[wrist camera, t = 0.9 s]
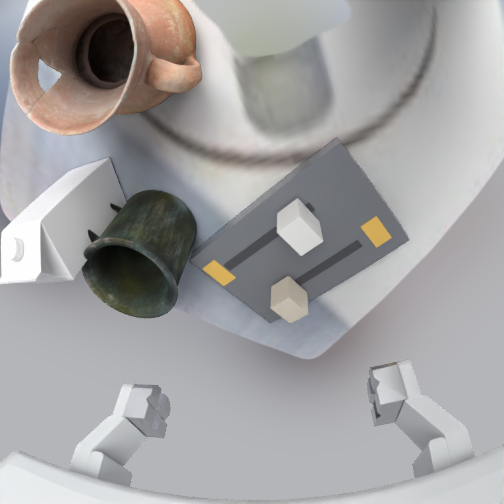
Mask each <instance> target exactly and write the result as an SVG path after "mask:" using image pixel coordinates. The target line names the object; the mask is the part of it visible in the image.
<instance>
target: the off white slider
mask: <svg viewBox="0 0 504 504" xmlns="http://www.w3.org/2000/svg"><path fill="white" fill-rule="evenodd" d="M277 233H278V234H279V235H280V236H281V237H282V238H283V239H284V240H285V241H286V242H287V243H288V244H289V245H290V246H291V247H292V248H293V249H294V250H295V251H296V252H297V253H298V254H299V255H300V256H302V255H304V254H305V253H307V252H308V251H310V250H311V249H313V248H314V247H316V246H317V245H319V244H320V243H322V242H323V237H322V232H321V226H320V222H319V220H318V219H317V218H316V217H315V216H314V215H313V214H312V213H311V212H310V211H309V210H308V208H307V207H306V206H305V205H304V204H303V203H302V202H301V201H300V200H299V199H298V198H297V199H296V200H294V201H293V202H292V203H290V204H289V205H288V206H286V207H285V208H284V209H282V210H281V211H280V212H278V213H277Z"/></svg>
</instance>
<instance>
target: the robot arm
mask: <svg viewBox="0 0 504 504" xmlns="http://www.w3.org/2000/svg"><path fill="white" fill-rule="evenodd" d="M369 375H370V378H369V379H368V384H367V385H368V397H369V402H370V403H372V404H373V407H372V411H371V412H372V417H373V422H374V426H378V425H383V424H389V423H393V422H396V424H397V425H398V426H399V428H400V429H401V430H402V431H403V432H404V433H405V434H406V435H407V436H408V437H409V438H410V439H411V440H412V441H413V442H414V443H415V444H416V445H417V446H418V447H419V448H420V449H421V450H422V453H421V454H420V455H419V457H418V458H417V459H416V460H415V462H414V463H413V470H414V476H415V478H414V479H410V480H407V481H403V482H399V483H395V484H391V485H387V486H383V487H378V488H373V489H368V490H363V491H357V492H351V493H345V494H338V495H331V496H323V497H314V498H302V499H287V500H223V499H208V498H196V497H188V496H180V495H172V494H165V493H159V492H153V491H148V490H143V489H138V488H133V487H130V483H131V478H132V474H131V472H130V471H128V470H127V469H125V468H124V467H123V466H124V465H125V464H126V462H127V461H128V460H129V459H130V457H131V456H132V455H133V454H134V453H135V451H136V450H137V449H138V448H139V447H140V445H141V444H142V443H143V441H145V439H146V437H157V438H164V436H165V431H166V427H167V424H166V422H165V419H166V418H167V417H168V416H169V413H170V402H169V399H168V397H167V396H166V395H165V394H163V393H161V388H160V387H159V386H158V385H138V384H124V385H123V387H122V389H121V391H120V394H119V397H118V400H117V403H116V406H115V409H114V412H113V415H110V416H109V417H108V418H106V419H105V420H104V421H103V422H102V423H101V424H100V425H99V426H98V427H96V428H95V429H94V430H93V431H92V432H91V433H90V434H89V435H88V436H87V437H86V438H85V439H84V440H82V441H81V442H80V443H79V444H78V445H77V446H76V449H75V452H74V455H73V458H72V462H71V465H70V468H69V470H67V469H65V468H62V467H59V466H56V465H54V464H51V463H48V462H46V461H43V460H41V459H38V458H36V457H33V456H31V455H29V454H26V453H24V452H22V451H14V452H12V453H10V454H9V455H8V456H6V457H5V458H4V459H3V460H1V461H0V504H504V444H503V445H501V446H499V447H497V448H495V449H492V450H490V451H488V452H486V453H483V454H481V455H479V456H477V457H475V455H474V451H473V448H472V444H471V441H470V437H469V434H468V431H467V428H466V427H465V426H464V425H463V424H461V423H460V422H459V421H458V420H456V419H455V418H454V417H453V416H451V415H450V414H449V413H447V412H446V411H445V410H444V409H443V408H441V407H440V406H439V405H438V404H436V403H435V402H434V401H433V400H431V399H430V398H429V397H428V396H426V395H422V394H421V391H420V388H419V385H418V382H417V379H416V376H415V373H414V370H413V367H412V364H411V362H410V360H404V361H399V362H394V363H390V364H385V365H380V366H375V367H371V368H370V370H369Z"/></svg>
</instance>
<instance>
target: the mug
mask: <svg viewBox="0 0 504 504" xmlns="http://www.w3.org/2000/svg"><path fill="white" fill-rule="evenodd" d="M110 206H111V208H112V209H113V210H115V211H117V213H118V214H117V215H116V216H115V218H114V219H113V220H112V221H111V223H110V224H109V225H108V227H107V228H106V229H105V231H104V232H103V233H102V234H101V236H100V237H99V236H98V235H96V234H95V233H94V232H92V231H91V230H90V229H89V230H88V236H89V238H90V240H91V244H90V245H89V246H88V247H87V248H86V249H85V251H84V253H83V254H84V257H85V258H86V259H87V261H86V262H85V264H84V265H83V267H82V272H83V275H84V278H85V280H86V282H87V284H88V285H89V287H90V288H91V290H92V291H93V292H94V293H95V294H96V295H97V296H98V297H99V298H100V299H101V300H102V301H103V302H104V303H106V304H107V305H109V306H110V307H112V308H114V309H115V310H117V311H119V312H122V313H124V314H127V315H130V316H134V317H139V318H155V317H159V316H162V315H164V314H166V313H168V312H169V311H170V310H171V309H172V308H173V307H174V305H175V303H176V301H177V296H178V291H177V286H178V283H179V280H180V277H181V275H182V272H183V269H184V267H185V264H186V261H187V259H188V256H189V253H190V251H191V248H192V245H193V243H194V240H195V237H196V224H195V221H194V218H193V216H192V214H191V212H190V211H189V209H188V208H187V207H186V206H185V205H184V204H183V203H182V202H181V201H180V200H179V199H178V198H176V197H174V196H173V195H170V194H168V193H165V192H162V191H156V190H147V191H142V192H139V193H137V194H135V195H134V196H132V197H131V198H130V199H129V200H128V201H127V203H126V204H125V205H124V206H123V208H121V207H119V206H117V205H114V204H112V203H110Z"/></svg>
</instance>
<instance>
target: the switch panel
mask: <svg viewBox="0 0 504 504" xmlns="http://www.w3.org/2000/svg"><path fill="white" fill-rule="evenodd" d="M297 198H298V199H299V200H300V201H301V202H302V203H303V204H304V205H305V206H306V207H307V208H308V210H309V211H310V212H311V213H312V214H313V215H314V216H315V217H316V218H317V219H318V220H319V222H320V226H321V232H322V237H323V242H322V243H320V244H319V245H317V246H316V247H314V248H313V249H311V250H310V251H308V252H307V253H305V254H304V255H302V256H300V255H299V254H298V253H297V252H296V251H295V250H294V249H293V248H292V247H291V246H290V245H289V244H288V243H287V242H286V241H285V240H284V239H283V238H282V237H281V236H280V235H279V234H278V233H277V213H278V212H280V211H281V210H282V209H284V208H285V207H286V206H288V205H289V204H290V203H292V202H293V201H294V200H296V199H297ZM407 241H409V238H408V236H407V234H406V232H405V231H404V229H403V227H402V226H401V224H400V223H399V221H398V220H397V218H396V217H395V215H394V214H393V212H392V211H391V209H390V208H389V206H388V205H387V203H386V202H385V201H384V199H383V198H382V196H381V195H380V193H379V192H378V191H377V189H376V188H375V186H374V185H373V184H372V182H371V181H370V180H369V178H368V177H367V176H366V174H365V173H364V171H363V170H362V169H361V168H360V166H359V165H358V164H357V162H356V161H355V160H354V158H353V157H352V156H351V155H350V153H349V152H348V151H347V149H346V148H345V147H344V146H343V144H342V143H341V142H340V141H339V140H338V138H337V137H336V138H335V139H334V140H332V141H331V142H330V143H328V144H327V145H326V146H324V147H323V148H322V149H321V150H319V151H318V152H317V153H315V154H314V155H313V156H311V157H310V158H309V159H308V160H306V161H305V162H304V163H302V164H301V165H300V166H298V167H297V168H296V169H295V170H293V171H292V172H291V173H290V174H288V175H287V176H286V177H284V178H283V179H282V180H281V181H279V182H278V183H277V184H276V185H274V186H273V187H272V188H271V189H269V190H268V191H267V192H266V193H264V194H263V195H262V196H261V197H259V198H258V199H257V200H256V201H254V202H253V203H252V204H251V205H249V206H248V207H247V208H246V209H244V210H243V211H242V212H241V213H239V214H238V215H237V216H236V217H235V218H233V219H232V220H231V221H230V222H228V223H227V224H226V225H225V226H224V227H222V228H221V229H220V230H219V231H218V232H216V233H215V234H214V235H213V236H212V237H210V238H209V239H208V240H207V241H206V242H204V243H203V244H202V245H201V246H200V247H198V248H197V249H196V250H195V251H194V252H193V254H192V256H191V259H190V261H191V262H192V263H193V264H194V265H196V266H197V267H198V268H199V269H201V270H202V271H203V272H204V273H206V274H207V275H208V276H209V277H211V278H212V279H213V280H215V281H216V282H217V283H218V284H220V285H221V286H222V287H223V288H225V289H226V290H227V291H229V292H230V293H231V294H233V295H234V296H235V297H236V298H238V299H239V300H240V301H242V302H243V303H244V304H246V305H247V306H248V307H249V308H251V309H252V310H253V311H255V312H256V313H257V314H259V315H260V316H261V317H263V318H264V319H265V320H267V321H268V322H269V323H272V322H274V321H275V320H277V319H279V318H281V316H280V315H278V314H277V313H276V312H275V311H273V310H272V309H271V308H270V306H271V287H272V286H273V285H275V284H276V283H278V282H279V281H281V280H283V279H284V278H286V277H287V276H289V277H291V278H292V279H293V280H294V281H295V282H296V283H297V284H298V285H299V286H301V287H302V288H303V289H304V290H305V291H306V292H307V298H308V302H309V301H311V300H313V299H315V298H316V297H318V296H320V295H322V294H323V293H325V292H327V291H328V290H330V289H332V288H333V287H335V286H337V285H339V284H340V283H342V282H344V281H345V280H347V279H349V278H350V277H352V276H353V275H355V274H357V273H358V272H360V271H362V270H363V269H365V268H366V267H368V266H370V265H371V264H373V263H374V262H376V261H378V260H379V259H381V258H382V257H384V256H385V255H387V254H389V253H390V252H392V251H393V250H395V249H396V248H398V247H399V246H401V245H402V244H404V243H406V242H407Z"/></svg>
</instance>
